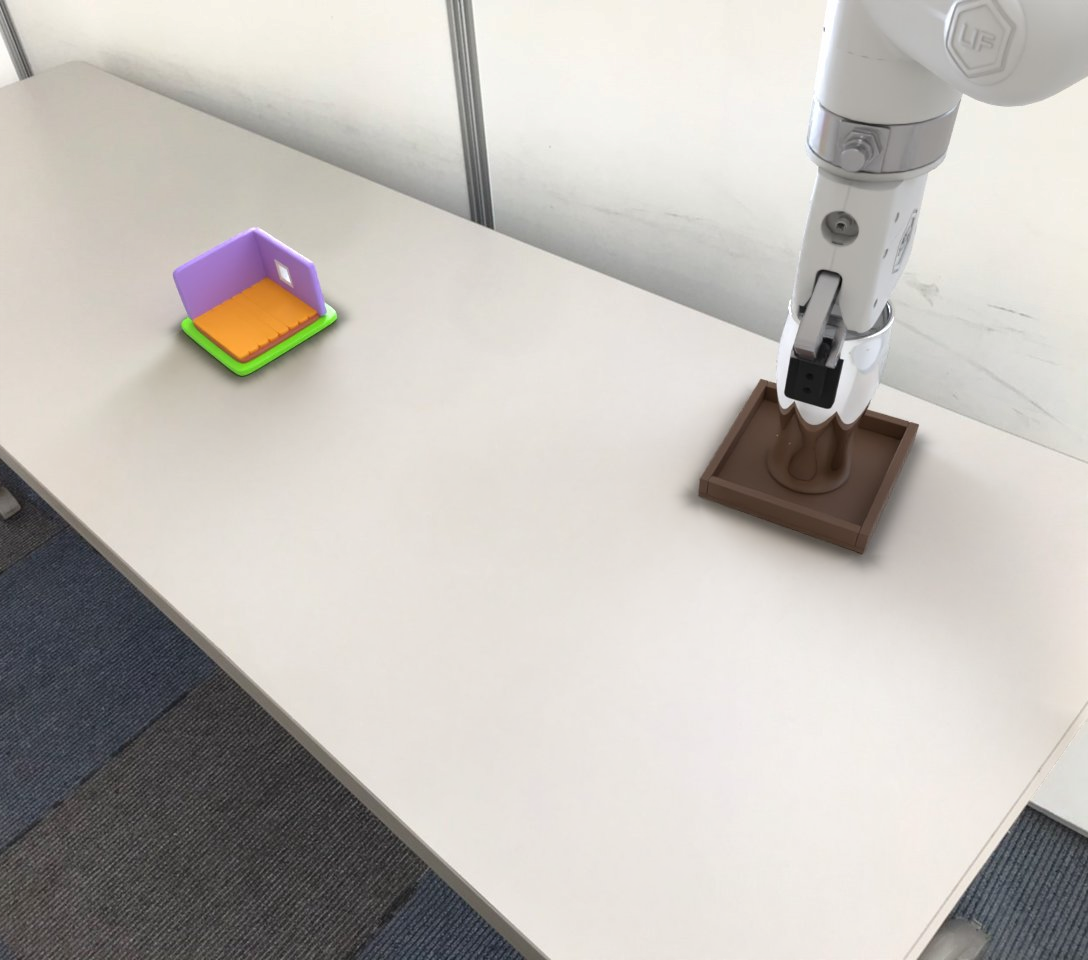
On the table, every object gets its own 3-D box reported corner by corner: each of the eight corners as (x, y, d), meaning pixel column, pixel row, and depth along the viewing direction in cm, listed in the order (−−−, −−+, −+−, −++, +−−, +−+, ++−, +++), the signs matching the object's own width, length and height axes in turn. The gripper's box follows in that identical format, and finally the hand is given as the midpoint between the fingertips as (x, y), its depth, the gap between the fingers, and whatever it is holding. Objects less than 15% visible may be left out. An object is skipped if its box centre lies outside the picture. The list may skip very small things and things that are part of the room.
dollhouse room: (275, 272, 102) (257, 215, 97) (342, 318, 95) (327, 259, 90) (177, 328, 98) (154, 271, 93) (241, 380, 91) (220, 322, 86)
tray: (913, 442, 76) (919, 423, 74) (863, 554, 69) (868, 536, 68) (757, 396, 81) (760, 378, 80) (697, 496, 75) (699, 478, 73)
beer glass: (798, 420, 78) (828, 263, 67) (875, 463, 74) (921, 305, 63) (741, 466, 75) (763, 311, 64) (818, 513, 71) (855, 357, 60)
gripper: (903, 218, 48) (842, 463, 61) (990, 64, 57) (921, 306, 70) (756, 189, 52) (727, 427, 64) (860, 48, 61) (817, 281, 74)
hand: (829, 362), depth 67 cm, fingers open, 7 cm apart
